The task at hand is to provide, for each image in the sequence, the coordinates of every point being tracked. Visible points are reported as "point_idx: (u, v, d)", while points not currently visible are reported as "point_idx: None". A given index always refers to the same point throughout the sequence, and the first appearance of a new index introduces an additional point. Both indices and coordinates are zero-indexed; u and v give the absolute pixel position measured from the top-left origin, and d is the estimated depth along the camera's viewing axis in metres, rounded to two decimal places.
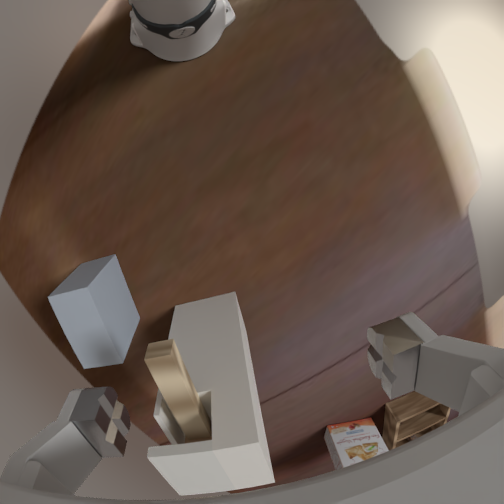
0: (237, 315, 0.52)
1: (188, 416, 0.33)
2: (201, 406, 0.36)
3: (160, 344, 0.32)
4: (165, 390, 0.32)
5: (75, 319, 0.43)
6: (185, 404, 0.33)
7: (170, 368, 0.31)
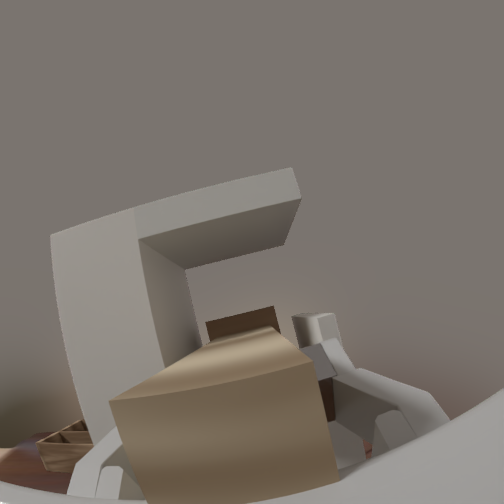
0: None
1: (235, 338, 0.13)
2: None
3: None
4: (261, 342, 0.09)
5: None
6: (221, 344, 0.11)
7: (176, 374, 0.06)
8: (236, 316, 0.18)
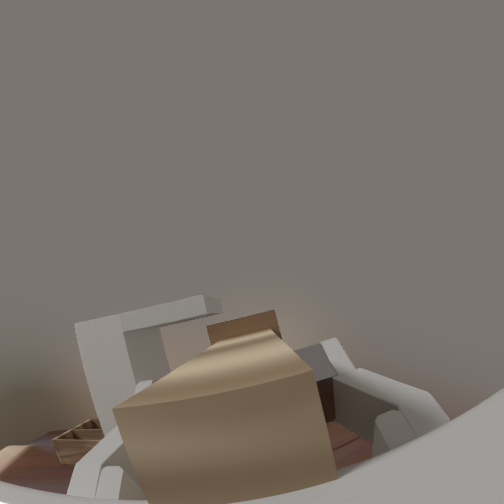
0: None
1: (236, 342, 0.13)
2: None
3: None
4: (262, 348, 0.09)
5: None
6: (223, 349, 0.11)
7: (179, 381, 0.06)
8: (237, 320, 0.18)
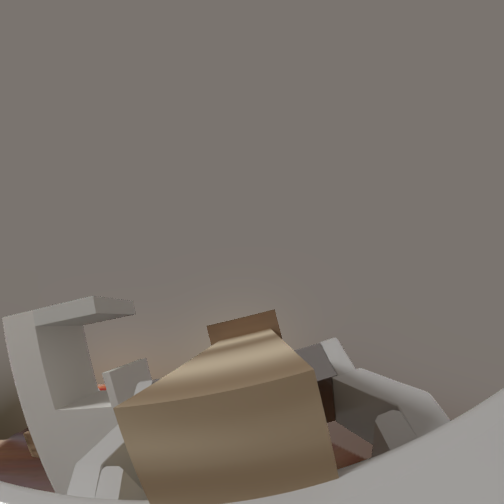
0: None
1: (236, 342, 0.13)
2: None
3: None
4: (262, 347, 0.09)
5: None
6: (223, 349, 0.11)
7: (179, 381, 0.06)
8: (237, 320, 0.18)
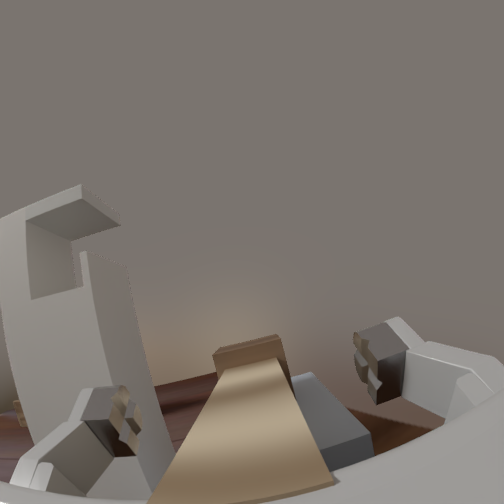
0: None
1: (244, 381, 0.13)
2: None
3: None
4: (274, 407, 0.08)
5: None
6: (232, 395, 0.11)
7: (199, 463, 0.05)
8: (243, 349, 0.17)
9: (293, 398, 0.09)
